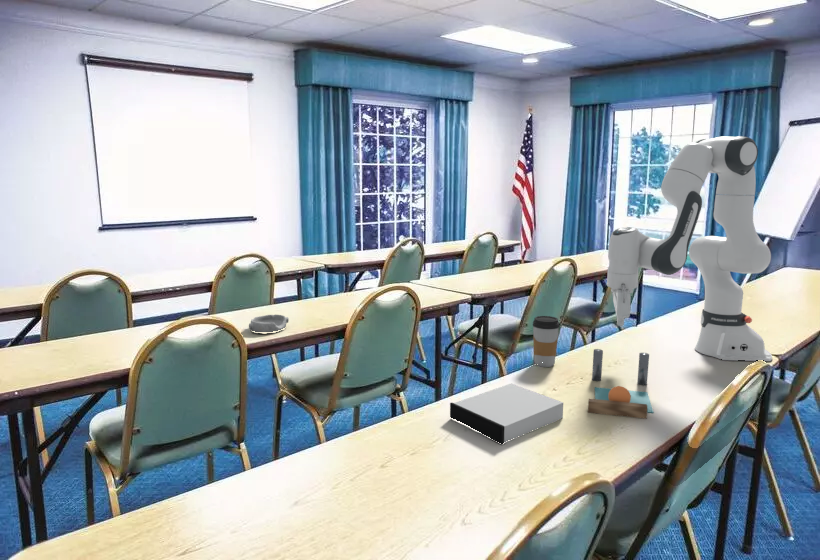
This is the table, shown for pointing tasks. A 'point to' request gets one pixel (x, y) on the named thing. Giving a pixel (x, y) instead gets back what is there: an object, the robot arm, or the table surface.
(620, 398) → the ball
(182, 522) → the table surface
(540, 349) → the coffee cup
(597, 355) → the post
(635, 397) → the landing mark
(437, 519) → the table surface
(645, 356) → the post
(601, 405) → the stopper wall
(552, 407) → the disc drive
